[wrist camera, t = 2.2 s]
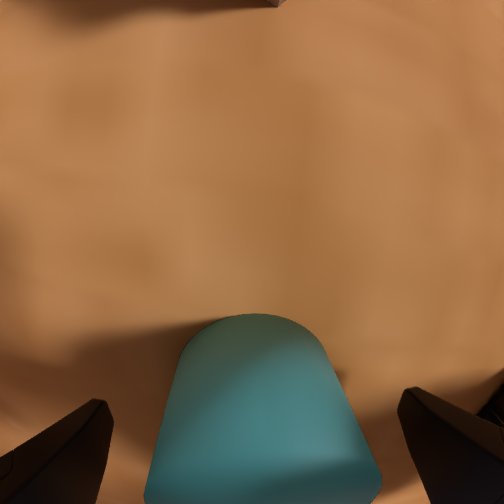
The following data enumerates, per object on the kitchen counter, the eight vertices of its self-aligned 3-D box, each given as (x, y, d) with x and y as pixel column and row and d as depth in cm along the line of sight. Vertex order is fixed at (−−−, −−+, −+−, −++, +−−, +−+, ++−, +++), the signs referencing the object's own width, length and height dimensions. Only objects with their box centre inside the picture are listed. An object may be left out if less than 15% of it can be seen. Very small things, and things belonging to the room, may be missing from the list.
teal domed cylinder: (357, 361, 9) (421, 473, 4) (264, 443, 10) (276, 550, 5) (237, 280, 8) (237, 410, 3) (151, 387, 9) (112, 506, 4)
